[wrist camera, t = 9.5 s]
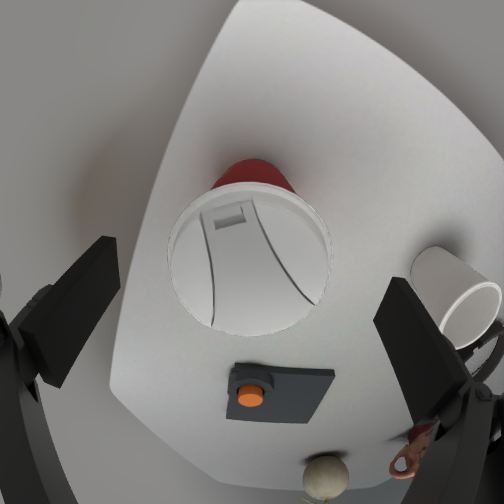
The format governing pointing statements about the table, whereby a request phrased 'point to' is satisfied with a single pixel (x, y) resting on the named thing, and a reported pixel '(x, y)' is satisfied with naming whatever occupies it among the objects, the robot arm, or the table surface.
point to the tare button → (250, 395)
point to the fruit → (325, 478)
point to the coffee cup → (250, 253)
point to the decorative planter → (413, 451)
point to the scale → (278, 393)
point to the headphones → (500, 350)
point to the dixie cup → (455, 295)
